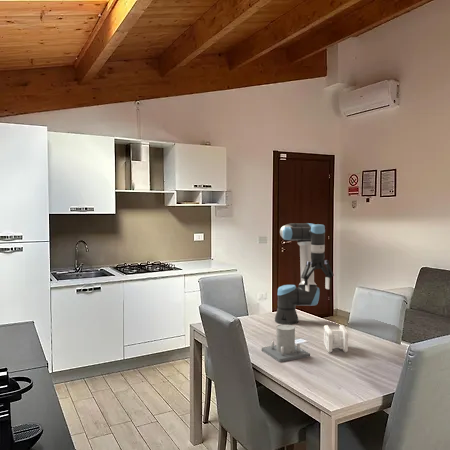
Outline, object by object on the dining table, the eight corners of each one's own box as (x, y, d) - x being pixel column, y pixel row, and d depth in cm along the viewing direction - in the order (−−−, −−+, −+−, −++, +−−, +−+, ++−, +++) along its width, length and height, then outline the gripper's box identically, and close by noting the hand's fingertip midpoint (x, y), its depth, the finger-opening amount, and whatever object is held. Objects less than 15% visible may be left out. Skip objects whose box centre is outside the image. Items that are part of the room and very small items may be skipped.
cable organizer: (348, 354, 221) (348, 332, 220) (327, 354, 222) (327, 332, 221) (342, 345, 236) (342, 324, 235) (322, 344, 237) (322, 323, 236)
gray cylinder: (296, 353, 219) (296, 329, 218) (277, 353, 219) (277, 329, 218) (293, 347, 228) (293, 324, 227) (275, 347, 228) (275, 324, 228)
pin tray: (261, 350, 228) (261, 340, 228) (290, 345, 235) (290, 335, 235) (279, 362, 212) (279, 351, 211) (310, 356, 219) (310, 345, 219)
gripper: (302, 254, 232) (302, 293, 233) (340, 251, 242) (339, 289, 243) (294, 252, 239) (294, 290, 240) (331, 250, 249) (331, 286, 250)
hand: (317, 290), depth 242 cm, fingers open, 13 cm apart
